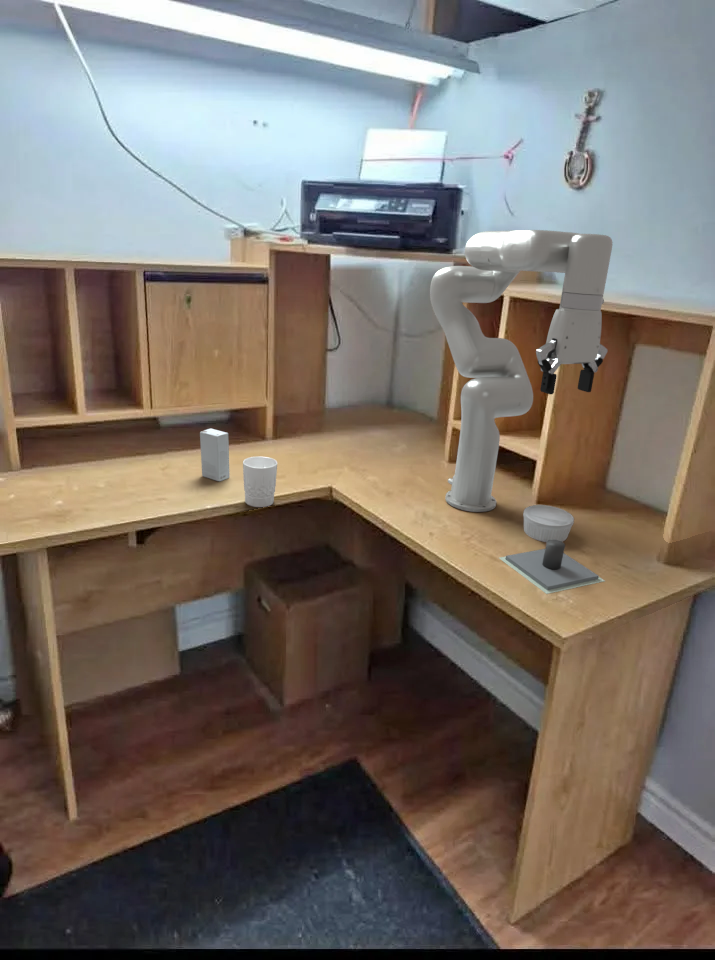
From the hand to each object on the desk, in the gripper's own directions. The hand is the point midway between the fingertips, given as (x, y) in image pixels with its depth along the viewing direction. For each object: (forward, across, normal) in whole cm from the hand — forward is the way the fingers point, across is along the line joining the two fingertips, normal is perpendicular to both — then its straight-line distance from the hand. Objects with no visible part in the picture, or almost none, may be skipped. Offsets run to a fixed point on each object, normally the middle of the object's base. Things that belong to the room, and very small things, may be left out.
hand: (565, 391), depth 132 cm
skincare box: (+34, +55, -60) cm, 88 cm away
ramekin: (+35, -7, -6) cm, 36 cm away
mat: (+35, +4, +8) cm, 36 cm away
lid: (+35, +4, +8) cm, 36 cm away
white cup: (+34, +49, -42) cm, 73 cm away
